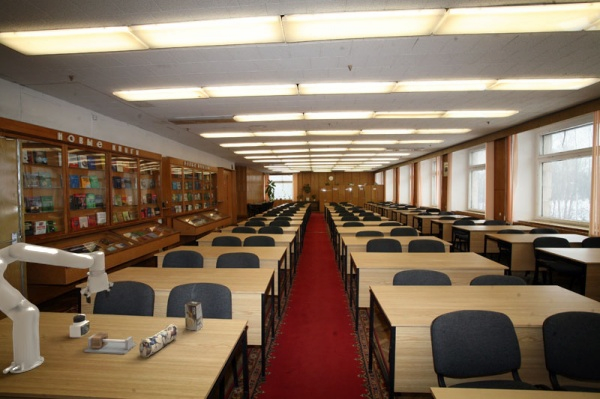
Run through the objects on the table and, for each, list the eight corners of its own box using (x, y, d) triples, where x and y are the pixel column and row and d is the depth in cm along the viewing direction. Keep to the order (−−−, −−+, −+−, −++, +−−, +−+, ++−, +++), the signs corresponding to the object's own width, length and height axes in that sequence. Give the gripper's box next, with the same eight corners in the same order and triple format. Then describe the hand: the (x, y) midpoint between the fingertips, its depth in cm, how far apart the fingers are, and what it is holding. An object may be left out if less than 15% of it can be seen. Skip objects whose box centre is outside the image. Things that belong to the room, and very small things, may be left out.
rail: (125, 354, 154) (124, 342, 154) (84, 352, 156) (83, 340, 156) (136, 345, 163) (135, 334, 163) (97, 343, 165) (97, 332, 165)
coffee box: (203, 326, 185) (202, 302, 184) (197, 331, 179) (196, 306, 178) (191, 324, 188) (190, 300, 187) (184, 329, 182) (184, 304, 181)
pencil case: (150, 359, 149) (149, 341, 149) (137, 356, 152) (137, 338, 152) (180, 338, 170) (179, 322, 170) (168, 336, 173) (168, 320, 173)
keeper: (99, 348, 157) (99, 338, 157) (91, 348, 158) (91, 337, 157) (108, 342, 163) (107, 332, 163) (100, 342, 163) (99, 332, 163)
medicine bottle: (81, 337, 172) (80, 318, 171) (69, 337, 172) (68, 318, 172) (90, 331, 179) (89, 313, 179) (78, 331, 179) (78, 312, 179)
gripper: (83, 277, 161) (84, 306, 162) (115, 269, 176) (116, 296, 176) (77, 275, 165) (78, 304, 165) (109, 267, 180) (110, 294, 180)
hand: (98, 300), depth 171 cm, fingers open, 9 cm apart
